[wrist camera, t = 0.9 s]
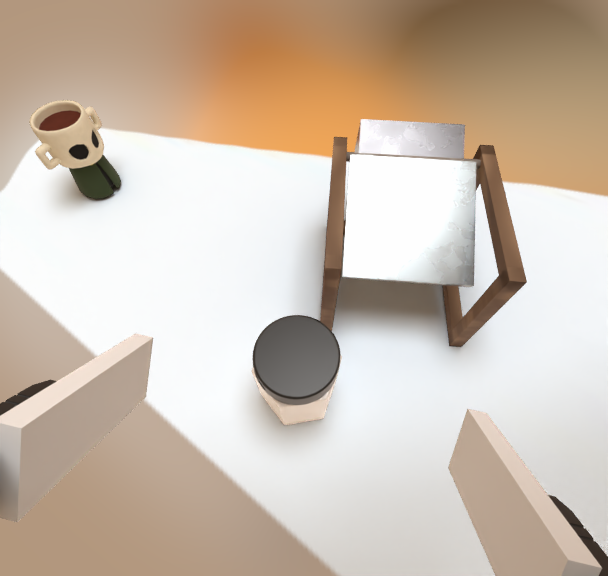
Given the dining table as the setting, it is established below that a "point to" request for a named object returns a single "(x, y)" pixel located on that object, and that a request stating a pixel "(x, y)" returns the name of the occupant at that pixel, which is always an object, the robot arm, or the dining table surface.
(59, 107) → the character mug
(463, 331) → the trapdoor frame
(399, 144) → the trapdoor
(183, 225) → the dining table surface
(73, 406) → the robot arm
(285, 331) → the jar
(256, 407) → the dining table surface
